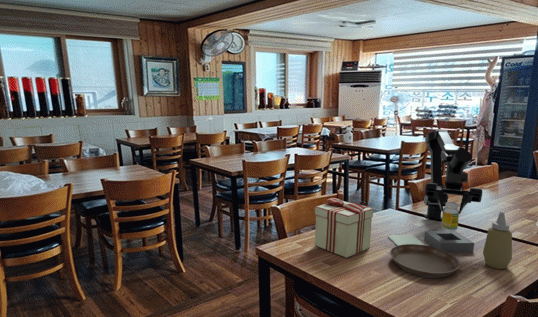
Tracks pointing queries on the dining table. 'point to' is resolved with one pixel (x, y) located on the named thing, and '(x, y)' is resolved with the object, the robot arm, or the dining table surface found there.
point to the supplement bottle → (450, 216)
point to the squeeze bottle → (498, 244)
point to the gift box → (343, 227)
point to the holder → (449, 241)
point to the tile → (404, 239)
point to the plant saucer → (424, 260)
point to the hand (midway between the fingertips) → (450, 212)
